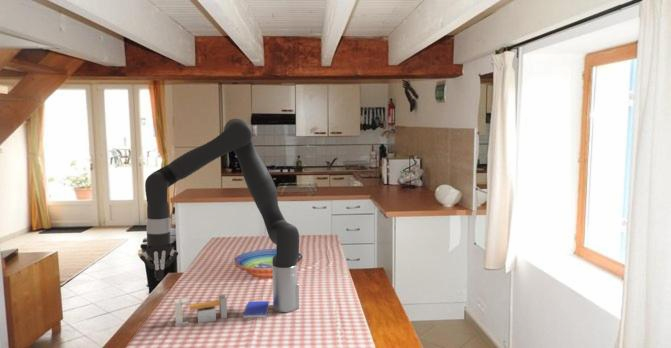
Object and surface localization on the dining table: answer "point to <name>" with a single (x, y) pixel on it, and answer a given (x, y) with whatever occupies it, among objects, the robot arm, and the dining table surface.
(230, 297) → the dining table surface
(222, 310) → the board
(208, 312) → the heatsink
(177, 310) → the block
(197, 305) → the orange bar
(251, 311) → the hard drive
